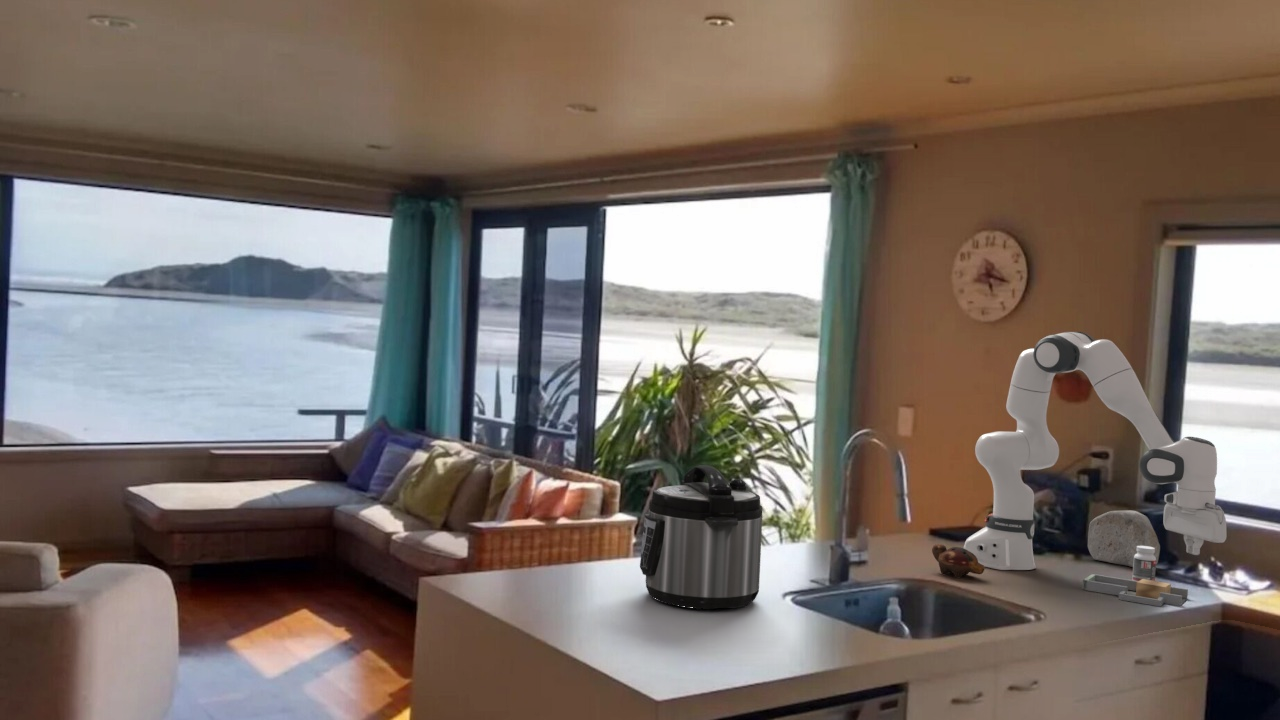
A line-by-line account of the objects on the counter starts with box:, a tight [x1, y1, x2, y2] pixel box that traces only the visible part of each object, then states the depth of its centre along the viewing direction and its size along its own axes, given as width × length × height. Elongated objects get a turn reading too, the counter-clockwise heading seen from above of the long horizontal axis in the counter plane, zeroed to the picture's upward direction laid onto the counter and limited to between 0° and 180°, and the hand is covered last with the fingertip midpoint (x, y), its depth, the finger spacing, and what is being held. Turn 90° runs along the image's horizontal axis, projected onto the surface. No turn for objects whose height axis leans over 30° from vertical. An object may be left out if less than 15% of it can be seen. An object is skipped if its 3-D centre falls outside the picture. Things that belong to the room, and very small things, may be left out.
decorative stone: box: [1087, 509, 1161, 568], centre depth 342 cm, size 17×20×10 cm
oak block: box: [1135, 579, 1172, 599], centre depth 299 cm, size 7×6×4 cm
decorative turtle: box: [931, 543, 986, 578], centre depth 313 cm, size 10×15×8 cm, turn 56°
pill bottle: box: [1131, 546, 1157, 581], centre depth 317 cm, size 6×6×10 cm
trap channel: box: [1082, 573, 1189, 607], centre depth 299 cm, size 24×16×2 cm, turn 56°
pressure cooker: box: [639, 464, 763, 610], centre depth 269 cm, size 30×28×32 cm
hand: (1192, 553), depth 293 cm, fingers closed
